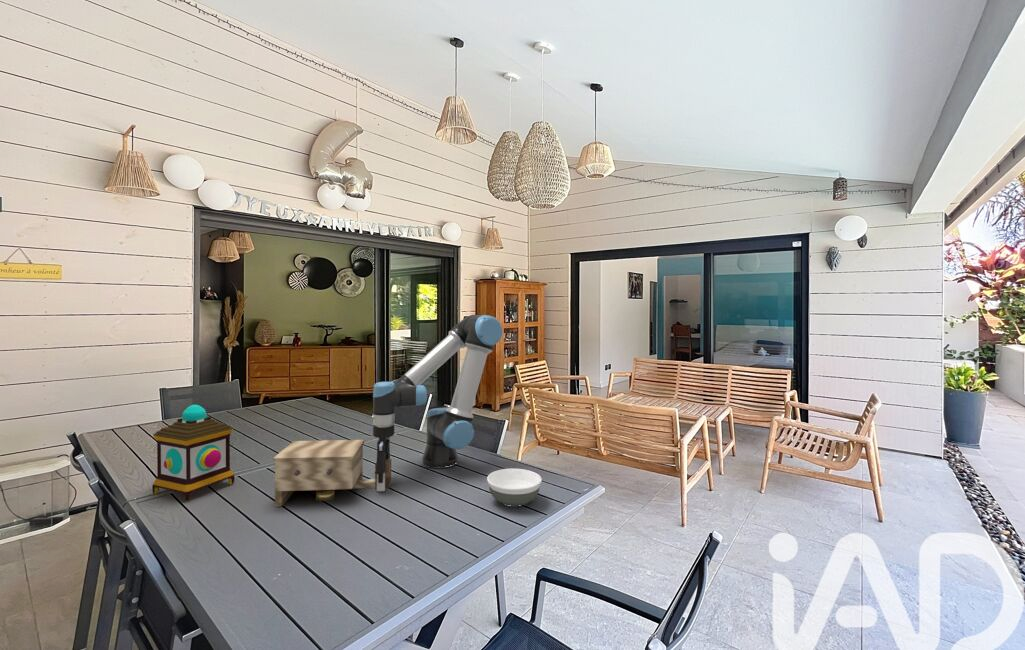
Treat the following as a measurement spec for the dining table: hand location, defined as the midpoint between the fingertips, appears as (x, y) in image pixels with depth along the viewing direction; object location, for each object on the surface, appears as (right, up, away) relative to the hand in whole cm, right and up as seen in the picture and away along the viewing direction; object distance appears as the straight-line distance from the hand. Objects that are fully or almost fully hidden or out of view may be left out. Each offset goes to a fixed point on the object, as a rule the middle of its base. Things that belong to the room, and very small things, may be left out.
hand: (383, 485), depth 165 cm
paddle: (-11, 0, -1) cm, 11 cm away
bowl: (+48, -2, -11) cm, 49 cm away
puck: (-17, 0, -11) cm, 20 cm away
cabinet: (-19, 0, -8) cm, 21 cm away
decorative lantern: (-65, +1, -6) cm, 65 cm away
